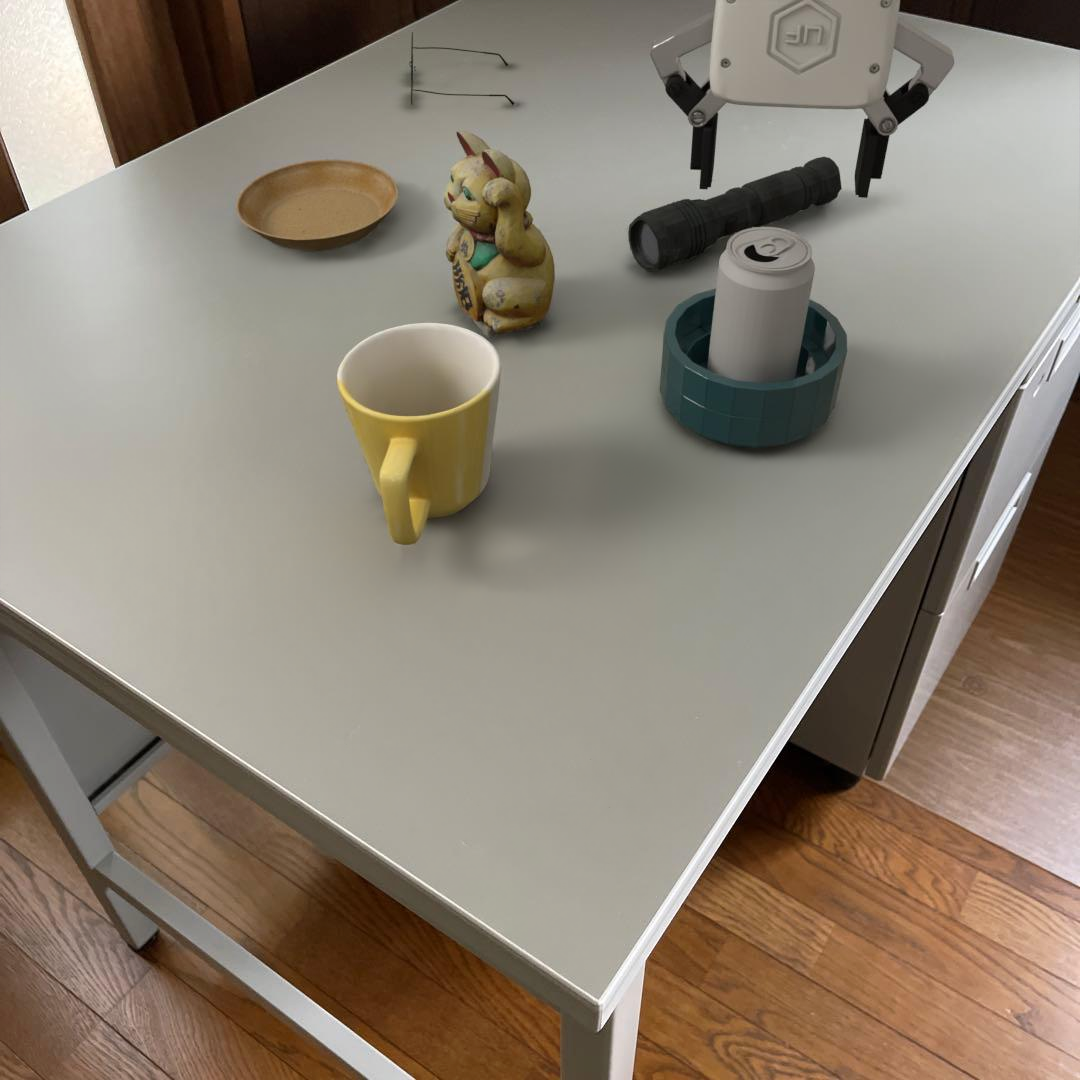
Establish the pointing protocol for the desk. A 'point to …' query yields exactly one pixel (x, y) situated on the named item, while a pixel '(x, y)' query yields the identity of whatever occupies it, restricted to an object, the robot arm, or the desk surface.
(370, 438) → the mug
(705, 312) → the bowl
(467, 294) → the decorative figurine
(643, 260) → the flashlight
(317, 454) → the desk surface
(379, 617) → the desk surface
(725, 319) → the beverage can
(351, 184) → the plant saucer
